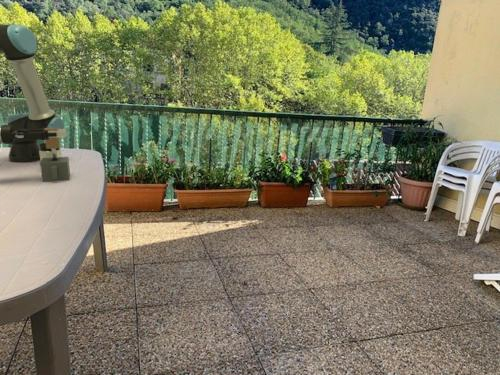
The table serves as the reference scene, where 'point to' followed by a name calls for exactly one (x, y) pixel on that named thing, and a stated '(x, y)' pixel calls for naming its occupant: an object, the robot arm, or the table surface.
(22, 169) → the table surface
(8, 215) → the table surface
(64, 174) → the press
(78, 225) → the table surface
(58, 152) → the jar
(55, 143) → the plunger
